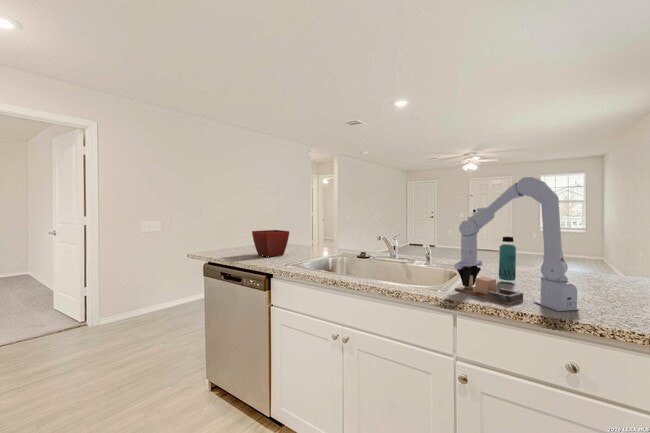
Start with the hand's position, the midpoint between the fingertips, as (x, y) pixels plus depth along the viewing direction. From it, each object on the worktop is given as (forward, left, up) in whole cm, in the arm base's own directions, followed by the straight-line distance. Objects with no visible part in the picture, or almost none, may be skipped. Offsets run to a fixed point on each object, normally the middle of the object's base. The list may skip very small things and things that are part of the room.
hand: (468, 285), depth 121 cm
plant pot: (+102, +78, -2) cm, 128 cm away
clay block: (-4, -1, -1) cm, 4 cm away
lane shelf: (-7, -3, -2) cm, 8 cm away
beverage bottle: (+8, -24, -2) cm, 26 cm away
